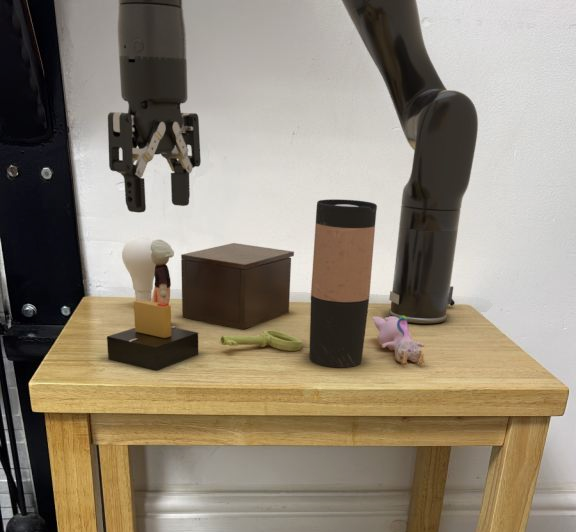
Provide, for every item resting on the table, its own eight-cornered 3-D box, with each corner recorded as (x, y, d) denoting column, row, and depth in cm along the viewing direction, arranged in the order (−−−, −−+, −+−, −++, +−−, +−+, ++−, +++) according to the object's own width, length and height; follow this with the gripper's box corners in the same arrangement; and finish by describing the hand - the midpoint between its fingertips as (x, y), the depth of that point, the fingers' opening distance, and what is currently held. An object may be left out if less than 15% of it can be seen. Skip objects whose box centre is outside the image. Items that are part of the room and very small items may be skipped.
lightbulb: (170, 306, 129) (168, 236, 124) (145, 312, 124) (142, 240, 119) (142, 300, 132) (139, 231, 127) (117, 306, 127) (112, 235, 122)
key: (216, 351, 107) (216, 336, 106) (275, 336, 115) (275, 321, 114) (255, 363, 103) (255, 347, 102) (313, 346, 111) (314, 332, 110)
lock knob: (135, 331, 103) (133, 299, 101) (141, 329, 104) (140, 297, 102) (165, 338, 101) (164, 305, 99) (171, 336, 102) (170, 303, 100)
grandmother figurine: (145, 322, 119) (142, 235, 113) (170, 321, 120) (168, 235, 114) (154, 335, 113) (151, 244, 107) (180, 334, 114) (178, 244, 108)
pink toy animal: (432, 375, 106) (398, 329, 118) (441, 334, 103) (405, 290, 114) (389, 376, 105) (359, 329, 116) (396, 335, 101) (364, 290, 113)
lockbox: (230, 302, 133) (230, 248, 129) (288, 312, 128) (291, 257, 124) (182, 317, 123) (181, 259, 119) (244, 329, 118) (245, 269, 114)
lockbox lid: (233, 247, 130) (233, 242, 129) (293, 256, 125) (294, 251, 125) (181, 259, 119) (181, 254, 118) (245, 269, 114) (245, 264, 113)
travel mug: (299, 353, 108) (306, 199, 99) (349, 350, 110) (361, 199, 101) (320, 370, 102) (331, 206, 92) (373, 366, 104) (388, 206, 95)
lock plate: (152, 343, 109) (151, 321, 108) (199, 354, 106) (198, 331, 104) (107, 359, 102) (106, 335, 100) (156, 370, 98) (155, 346, 97)
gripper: (165, 58, 95) (170, 201, 102) (83, 50, 84) (95, 211, 91) (216, 59, 91) (217, 206, 99) (138, 50, 80) (146, 217, 88)
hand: (159, 208), depth 95 cm, fingers open, 8 cm apart
